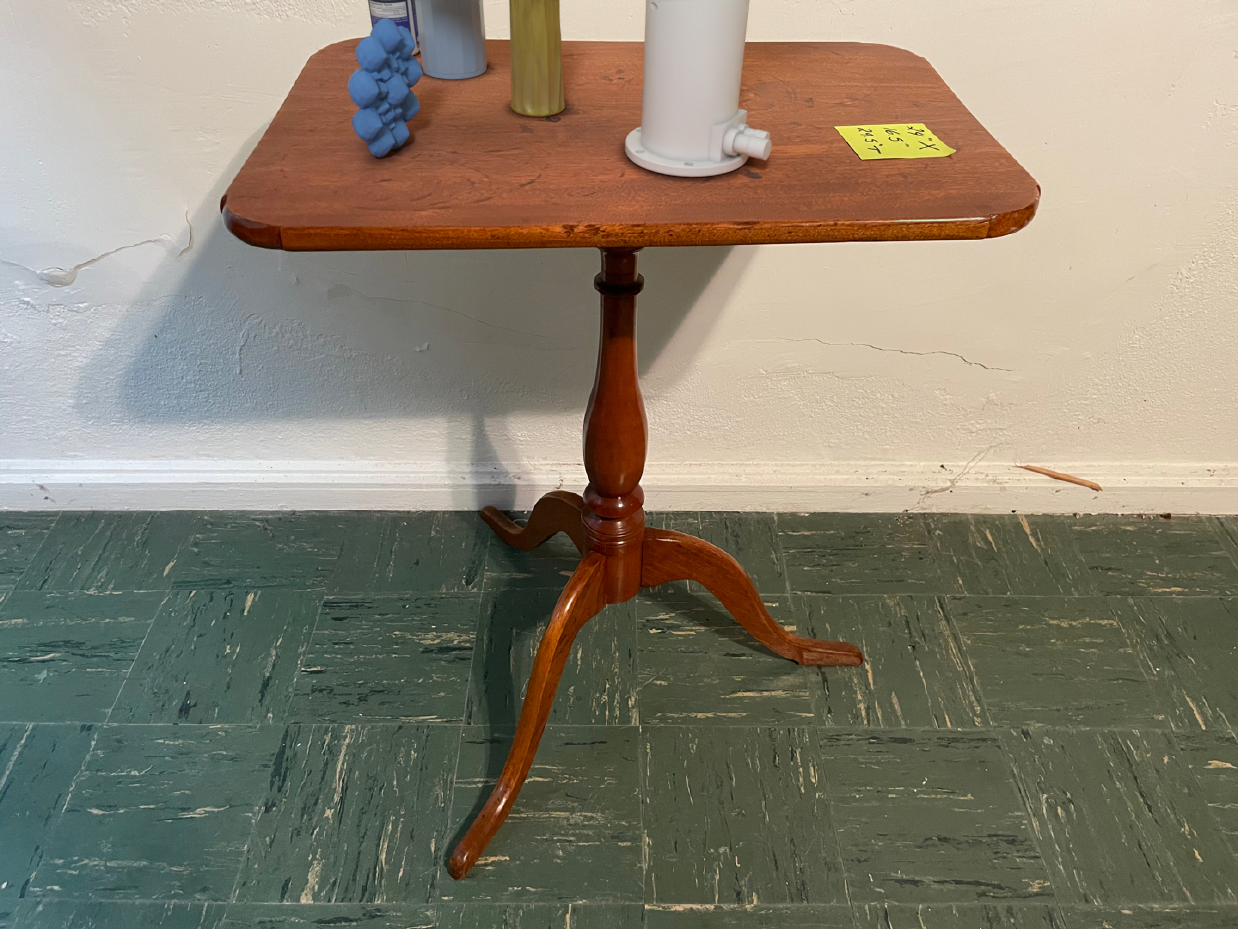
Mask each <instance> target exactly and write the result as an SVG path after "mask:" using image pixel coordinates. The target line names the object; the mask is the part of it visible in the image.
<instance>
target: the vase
mask: <svg viewBox="0 0 1238 929" xmlns="http://www.w3.org/2000/svg"><path fill="white" fill-rule="evenodd" d="M508 4H509V5H508V6H509V9H508V10H509V51H510V56H509V57H510V108H511V109H512V110H513V111H514V112H515V113H517V114H519V115H522V116H526V117H535V118H541V117H550V116H554V115H558V114H560V113H562V112H563V111H564V110H565V109H566V102H565V96H564V95H565V92H564V90H565V88H564V86H565V85H564V65H563V64H564V63H563V43H562V42H563V41H562V30H561V29H562V28H561V14H560V12H561V10H560V9H561V8H560V6H561V4H560V0H508Z"/></svg>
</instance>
